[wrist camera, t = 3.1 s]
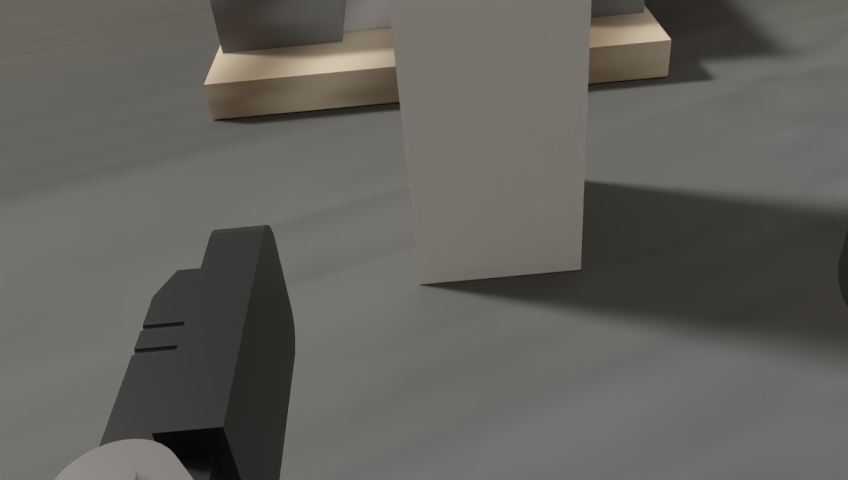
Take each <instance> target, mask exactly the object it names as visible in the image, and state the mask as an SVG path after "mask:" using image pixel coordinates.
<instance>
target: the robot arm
mask: <svg viewBox="0 0 848 480" xmlns="http://www.w3.org/2000/svg"><path fill="white" fill-rule="evenodd" d="M838 277H839V285H840V289H841V293H842V296H843V299H844V301H845V303H846V305H847V306H848V231H847V235H846V238H845V242H844V246H843V250H842V253H841V257H840V261H839V268H838ZM134 350H135V355H132V357H131V360H130V362H129V365H128V368H127V371H126V373H125V376H124V379H123V382H122V385H121V387H120V390H119V393H118V396H117V398H116V401H115V404H114V407H113V410H112V412H111V415H110V418H109V421H108V423H107V426H106V429H105V432H104V435H103V437H102V440H101V443H100V445H99V447H97V448H95V449H93V450H91V451H89V452H87V453H86V454H84V455H82V456H81V457H79V458H78V459H76V460H75V461H74V462H72V463H71V464H70V465H69V466H67V467H66V468H65V469H64V470H63V471H62V472H61V473H60V474H59V475H58V476H57V477H56V479H55V480H279V478H280V470H281V462H282V454H283V446H284V437H285V429H286V421H287V413H288V405H289V397H290V389H291V381H292V373H293V365H294V357H295V330H294V321H293V314H292V309H291V305H290V301H289V297H288V293H287V288H286V284H285V280H284V276H283V271H282V267H281V263H280V259H279V255H278V250H277V246H276V242H275V238H274V235H273V232H272V230H271V228H270V226H269V225H262V226H252V227H241V228H231V229H220V230H214V231H213V232H212V233H211V236H210V239H209V242H208V246H207V249H206V252H205V256H204V259H203V262H202V266H201V268H198V269H187V270H177V272H176V273H175V274H174V275H173V276H172V277H171V278H170V279H169V280H168V281H167V282H166V283H165V284H164V286H163V287H162V288H161V289H160V290H159V291H158V292H157V293H156V294H155V295H154V296H153V299H152V301H151V304H150V307H149V310H148V312H147V315H146V318H145V321H144V324H143V331H141V332H140V335H139V337H138V340H137V343H136V346H135V348H134Z"/></svg>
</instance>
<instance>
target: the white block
mask: <svg viewBox="0 0 848 480" xmlns="http://www.w3.org/2000/svg"><path fill="white" fill-rule="evenodd" d="M591 1H592V0H388V2H389V11H390V20H391V29H392V38H393V47H394V56H395V65H396V74H397V84H398V93H399V102H400V111H401V120H402V129H403V138H404V147H405V156H406V165H407V174H408V183H409V192H410V201H411V210H412V219H413V228H414V237H415V246H416V255H417V264H418V274H419V283H420V284H431V283H442V282H453V281H463V280H474V279H485V278H496V277H507V276H518V275H528V274H539V273H550V272H561V271H572V270H581V253H582V228H583V203H584V178H585V152H586V127H587V102H588V77H589V51H590V26H591Z"/></svg>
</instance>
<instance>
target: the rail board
mask: <svg viewBox="0 0 848 480" xmlns="http://www.w3.org/2000/svg"><path fill="white" fill-rule="evenodd" d="M210 3H211V7H212V11H213V15H214V19H215V23H216V28H217V32H218V36H219V40H220V44H221V45H220V47H219V50H218V52H217V55H216V57H215V59H214V62H213V64H212V67H211V69H210V71H209V74H208V76H207V79H206V81H205V83H204V87H205V91H206V95H207V98H208V102H209V106H210V110H211V114H212V117H213V120H215V119H225V118H236V117H246V116H257V115H267V114H278V113H288V112H299V111H309V110H320V109H330V108H341V107H351V106H361V105H372V104H382V103H393V102H399V93H398V84H397V74H396V65H395V56H394V47H393V38H392V29H391V20H390V11H389V2H388V0H210ZM670 49H671V39H670V37H669V36H668V35H667V33H666V32H665V31H664V30H663V28H662V27H661V26H660V24H659V23H658V22H657V20H656V19H655V18H654V17H653V15H652V14H651V13H650V11H649V10H648V9H647V8H646V6H645V0H592V1H591V26H590V51H589V77H588V84H592V83H602V82H613V81H623V80H634V79H644V78H655V77H665V76H668V69H669V59H670Z"/></svg>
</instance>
